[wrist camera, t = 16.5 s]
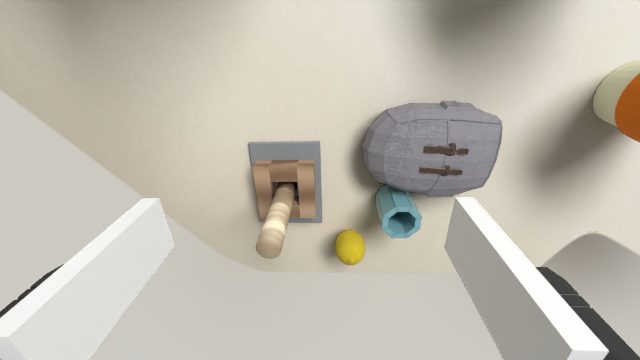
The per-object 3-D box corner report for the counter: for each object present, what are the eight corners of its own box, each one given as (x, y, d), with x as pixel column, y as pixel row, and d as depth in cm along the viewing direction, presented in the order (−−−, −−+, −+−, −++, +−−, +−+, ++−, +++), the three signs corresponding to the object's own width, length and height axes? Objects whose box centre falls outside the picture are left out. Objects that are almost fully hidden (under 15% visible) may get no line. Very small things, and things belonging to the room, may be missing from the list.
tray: (249, 142, 48) (248, 143, 47) (319, 141, 47) (319, 142, 47) (261, 219, 55) (260, 222, 54) (322, 219, 55) (322, 222, 54)
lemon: (333, 222, 55) (334, 250, 48) (362, 221, 54) (367, 248, 47) (335, 245, 57) (336, 274, 50) (363, 243, 57) (367, 273, 50)
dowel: (278, 177, 50) (254, 238, 35) (296, 177, 50) (279, 238, 35) (279, 193, 51) (257, 258, 36) (297, 193, 51) (282, 258, 36)
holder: (256, 160, 49) (252, 167, 46) (314, 159, 48) (313, 166, 45) (263, 209, 53) (259, 218, 50) (316, 209, 53) (315, 218, 50)
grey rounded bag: (494, 98, 43) (364, 93, 44) (528, 111, 36) (371, 104, 36) (468, 185, 50) (356, 179, 51) (491, 210, 43) (359, 204, 43)
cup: (376, 183, 50) (383, 206, 43) (410, 182, 50) (423, 206, 43) (374, 211, 53) (381, 238, 46) (406, 211, 53) (418, 238, 46)
